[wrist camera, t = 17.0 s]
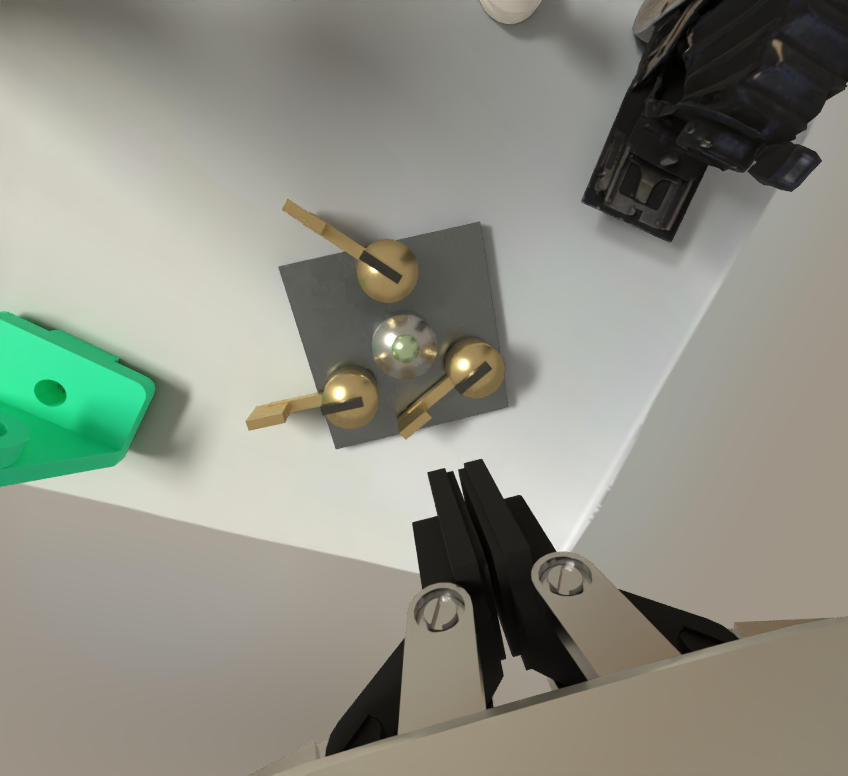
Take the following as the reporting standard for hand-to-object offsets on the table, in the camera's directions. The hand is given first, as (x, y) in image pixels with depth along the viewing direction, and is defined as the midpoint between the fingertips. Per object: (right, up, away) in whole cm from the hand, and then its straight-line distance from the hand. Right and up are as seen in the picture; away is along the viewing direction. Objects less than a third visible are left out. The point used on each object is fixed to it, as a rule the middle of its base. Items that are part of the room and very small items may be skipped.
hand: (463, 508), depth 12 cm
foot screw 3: (+1, +4, +24) cm, 24 cm away
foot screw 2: (-10, +3, +23) cm, 25 cm away
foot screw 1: (-7, +14, +20) cm, 25 cm away
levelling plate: (-3, +8, +24) cm, 25 cm away
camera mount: (-30, +4, +22) cm, 37 cm away
